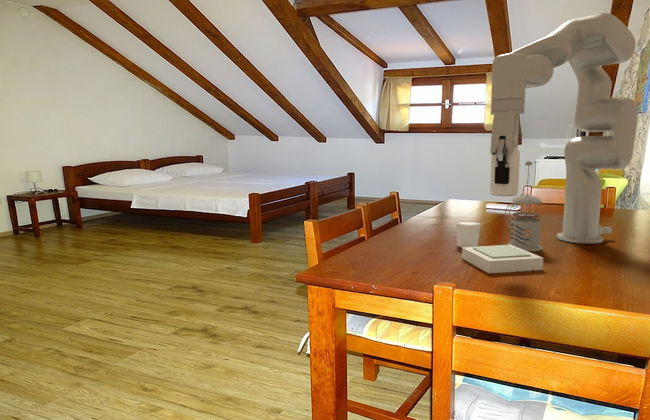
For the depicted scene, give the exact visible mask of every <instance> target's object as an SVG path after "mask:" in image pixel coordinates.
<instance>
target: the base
mask: <svg viewBox="0 0 650 420" xmlns="http://www.w3.org/2000/svg"><path fill="white" fill-rule="evenodd" d="M461 248H462V249H461V259H462V260H464V261H466V262H468V263H469V264H471V265H473V266H475V267H476V268H478V269H480V270H482V271H484V272H485V273H487V274H498V273H499V274H500V273H501V274H502V273H515V272H517V271H518V272H531V271H532V270H534V271H543V269H544V257H542V256H539V255H537V254H535V253H533V252H531V251H525V250H523V249H520V248H518V247H515V246H513V245H507V244H502V245H501V244H500V245H486V246H485V245H484V246H483V245H481V246H477V247H461Z"/></svg>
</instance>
